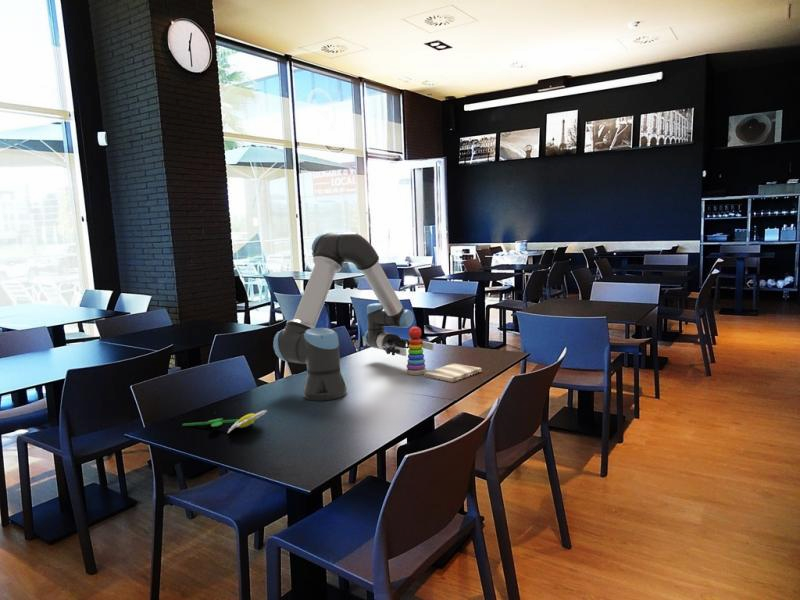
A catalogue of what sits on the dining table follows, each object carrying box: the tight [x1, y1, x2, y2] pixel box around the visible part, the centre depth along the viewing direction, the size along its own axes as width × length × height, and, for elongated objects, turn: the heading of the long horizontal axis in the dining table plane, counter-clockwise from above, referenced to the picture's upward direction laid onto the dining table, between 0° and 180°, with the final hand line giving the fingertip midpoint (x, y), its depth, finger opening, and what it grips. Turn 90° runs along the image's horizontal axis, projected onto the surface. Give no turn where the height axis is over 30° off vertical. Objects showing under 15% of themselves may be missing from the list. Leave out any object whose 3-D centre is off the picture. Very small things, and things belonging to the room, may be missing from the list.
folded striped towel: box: [423, 363, 482, 383], centre depth 216 cm, size 18×14×2 cm
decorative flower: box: [181, 409, 268, 434], centre depth 167 cm, size 13×5×30 cm
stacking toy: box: [406, 326, 427, 376], centre depth 219 cm, size 8×8×19 cm
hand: (419, 349), depth 217 cm, fingers open, 13 cm apart
